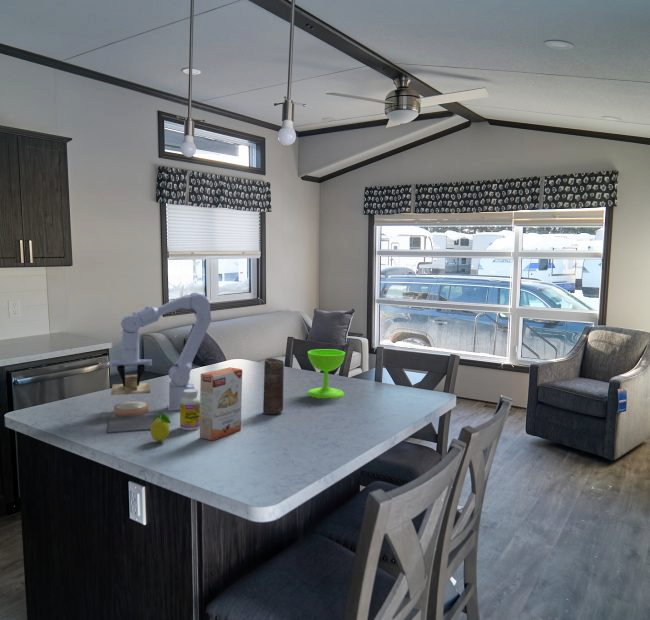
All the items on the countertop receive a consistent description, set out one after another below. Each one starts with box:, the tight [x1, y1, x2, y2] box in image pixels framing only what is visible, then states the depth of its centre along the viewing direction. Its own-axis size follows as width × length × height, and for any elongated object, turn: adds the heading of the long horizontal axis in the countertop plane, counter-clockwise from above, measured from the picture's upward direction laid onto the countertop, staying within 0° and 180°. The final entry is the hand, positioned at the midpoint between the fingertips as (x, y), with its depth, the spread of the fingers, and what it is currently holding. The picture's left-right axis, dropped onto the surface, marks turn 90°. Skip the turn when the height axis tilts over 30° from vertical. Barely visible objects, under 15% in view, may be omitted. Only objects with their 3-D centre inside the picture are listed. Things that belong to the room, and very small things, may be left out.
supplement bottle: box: [179, 388, 200, 431], centre depth 184 cm, size 7×7×13 cm
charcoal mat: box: [107, 414, 159, 434], centre depth 187 cm, size 16×16×1 cm
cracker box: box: [199, 366, 243, 441], centre depth 178 cm, size 14×6×21 cm, turn 148°
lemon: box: [150, 410, 171, 443], centre depth 169 cm, size 7×6×10 cm
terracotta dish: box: [113, 400, 150, 417], centre depth 201 cm, size 12×12×3 cm
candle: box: [262, 357, 285, 415], centre depth 203 cm, size 8×7×20 cm
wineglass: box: [306, 348, 346, 399], centre depth 233 cm, size 16×16×18 cm
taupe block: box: [110, 374, 151, 396], centre depth 200 cm, size 13×13×5 cm
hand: (131, 385), depth 200 cm, fingers closed on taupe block, 4 cm apart
